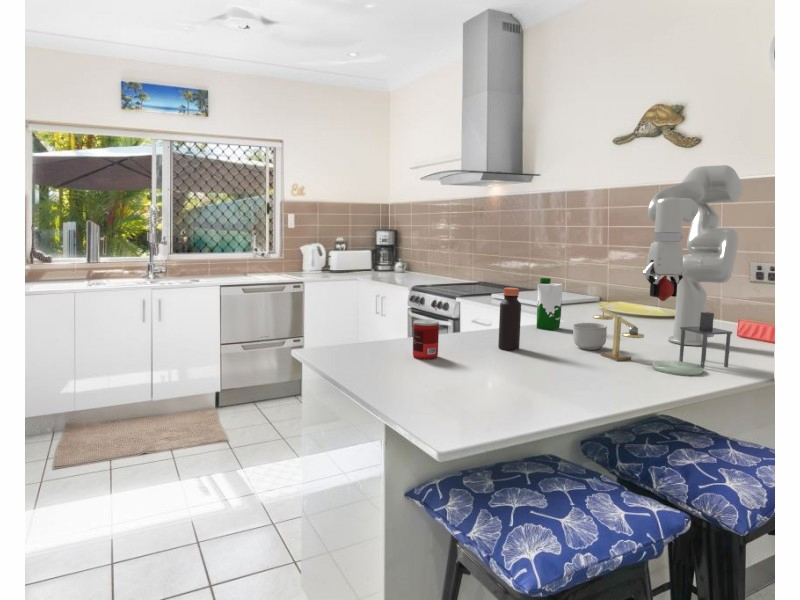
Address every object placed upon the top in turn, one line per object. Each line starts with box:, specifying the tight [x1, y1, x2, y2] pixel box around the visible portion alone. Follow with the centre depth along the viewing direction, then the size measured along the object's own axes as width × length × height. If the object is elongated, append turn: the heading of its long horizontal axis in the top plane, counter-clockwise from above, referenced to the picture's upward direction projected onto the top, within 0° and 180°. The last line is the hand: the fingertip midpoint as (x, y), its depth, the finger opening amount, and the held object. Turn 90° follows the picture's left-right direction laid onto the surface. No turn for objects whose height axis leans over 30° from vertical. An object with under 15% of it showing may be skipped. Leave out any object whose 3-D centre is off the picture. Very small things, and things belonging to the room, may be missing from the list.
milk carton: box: [536, 277, 563, 331], centre depth 226 cm, size 9×9×20 cm
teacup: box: [572, 322, 608, 351], centre depth 191 cm, size 14×11×8 cm
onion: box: [656, 275, 674, 302], centre depth 176 cm, size 6×6×8 cm
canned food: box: [412, 318, 440, 360], centre depth 172 cm, size 8×8×11 cm
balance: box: [592, 307, 645, 362], centre depth 175 cm, size 21×6×15 cm, turn 16°
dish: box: [652, 359, 704, 376], centre depth 162 cm, size 13×13×1 cm
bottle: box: [497, 287, 522, 352], centre depth 185 cm, size 7×7×20 cm
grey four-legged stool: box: [678, 311, 733, 370], centre depth 168 cm, size 10×10×16 cm
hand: (663, 295), depth 177 cm, fingers closed on onion, 6 cm apart
